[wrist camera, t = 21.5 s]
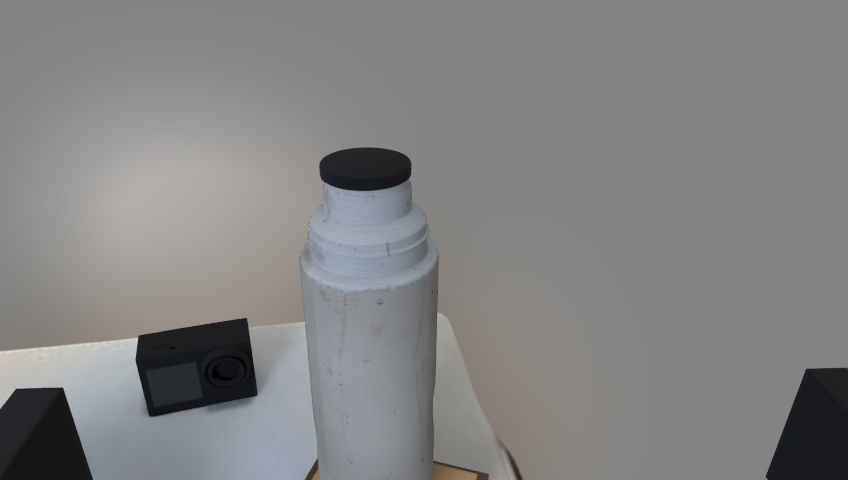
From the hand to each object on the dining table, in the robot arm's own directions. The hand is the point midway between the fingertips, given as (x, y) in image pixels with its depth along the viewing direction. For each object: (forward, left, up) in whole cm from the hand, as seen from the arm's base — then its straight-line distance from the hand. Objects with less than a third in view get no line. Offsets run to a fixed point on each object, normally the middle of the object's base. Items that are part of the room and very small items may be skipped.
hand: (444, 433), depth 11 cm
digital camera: (+33, -32, -35) cm, 58 cm away
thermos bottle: (+10, -21, -31) cm, 39 cm away
